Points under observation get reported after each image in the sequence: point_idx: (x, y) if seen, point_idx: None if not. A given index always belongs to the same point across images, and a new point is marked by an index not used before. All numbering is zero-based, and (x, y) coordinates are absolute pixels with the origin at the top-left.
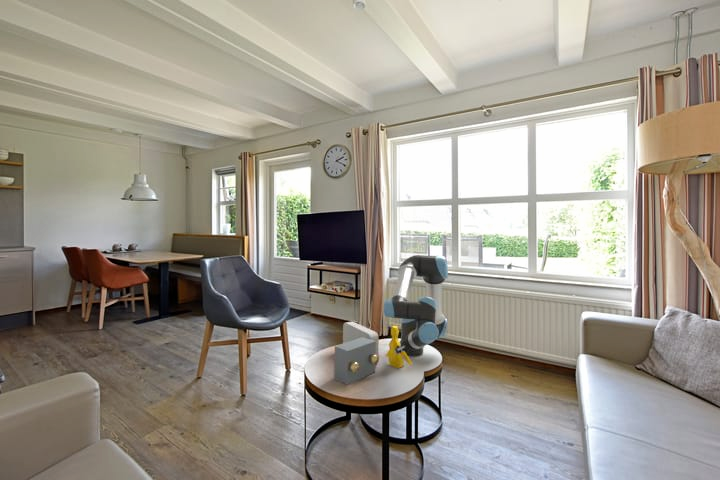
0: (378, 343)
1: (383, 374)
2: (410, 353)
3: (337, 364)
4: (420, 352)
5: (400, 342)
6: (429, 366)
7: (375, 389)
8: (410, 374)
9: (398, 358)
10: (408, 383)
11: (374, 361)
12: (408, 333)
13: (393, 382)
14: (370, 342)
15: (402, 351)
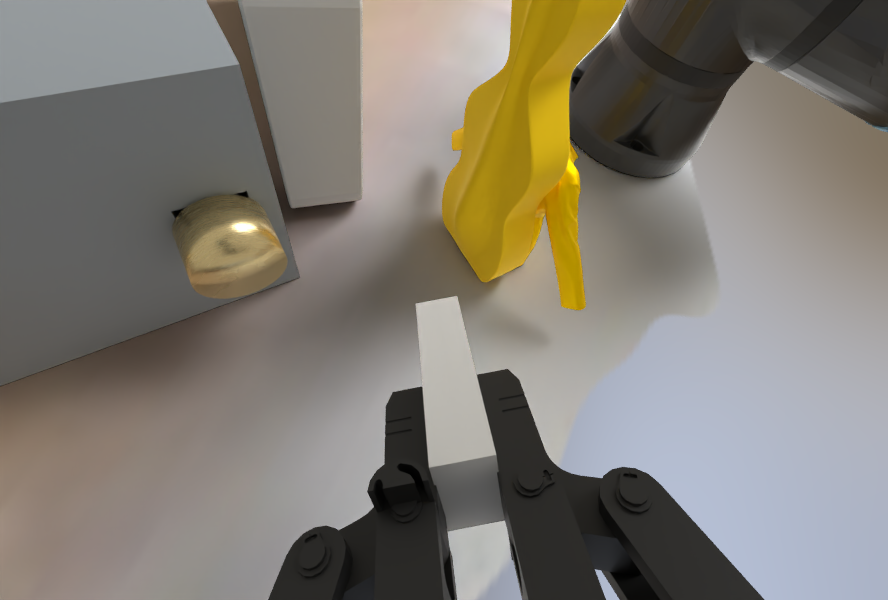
0: (361, 65)
1: (341, 327)
2: (617, 155)
3: None
4: (677, 163)
5: (596, 53)
6: (684, 313)
7: (126, 569)
8: (530, 383)
9: (499, 246)
10: None
11: (215, 285)
12: (689, 16)
13: (351, 475)
14: (130, 70)
15: (474, 522)
